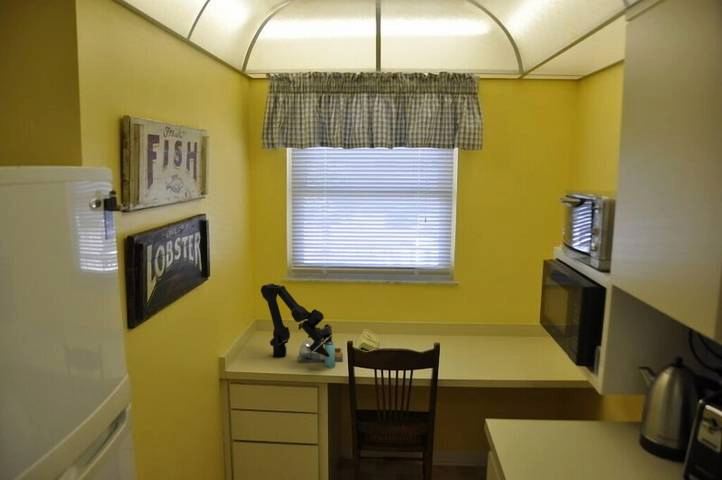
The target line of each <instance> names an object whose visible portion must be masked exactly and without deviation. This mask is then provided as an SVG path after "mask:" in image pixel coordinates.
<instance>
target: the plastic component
mask: <svg viewBox="0 0 722 480" xmlns="http://www.w3.org/2000/svg"><path fill="white" fill-rule="evenodd" d="M378 346H379V337H378V335H377V333H375V332H373V331H372V330H369V329H368V328H367V329H366V328H365V329H363V331H362V333H361V334H360V336H359V337H358V339H357V342H356V346H355V349H356V348H359V349H360V350H361V349H362V348H364V349H365V350H367V351H369V350H372V349H376V350H377V349H378Z"/></svg>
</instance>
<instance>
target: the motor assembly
mask: <svg viewBox="0 0 722 480" xmlns="http://www.w3.org/2000/svg"><path fill="white" fill-rule="evenodd" d="M312 344H313V342H312V341H311V340H309V339H307V340H306V339H305V340H303V341H302V342H301V344H300V347H299V352H298V353H299V354H298V355H299V356H298V359H297V362H298V363H325V356H324V355H322V354H319V353H316V352H314V351H315V350H314V351H311V350H310V349H309V347H310V346H311V345H312ZM335 348H336V351H335V363H343V361H344V360H343V347H335Z"/></svg>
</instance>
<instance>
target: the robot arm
mask: <svg viewBox="0 0 722 480" xmlns="http://www.w3.org/2000/svg"><path fill="white" fill-rule="evenodd" d="M260 294H261V295H262V298H263V299H264V300H265V301H266V302H267V305H268V309H269V314H270V317H271V320H272V324H273V332H272V335H273V337H272V338H271V340H270V341H269V343H270V344H269V346H271V347H272V351H273V352H272V354H273V355H272V358H285V357H286V355H287V353H288V352H287V351H288V350H287V345H286V344H287V343H289V341H290V338H291V332H290V330H289V329H290V328H289V327H288V326H287V327H286V326H285V325H284V322H283V318H282V316H281V315H282V314H281V311H280V308H279V305H278V304H279V303H278V300H277V298H278V297H280V299H281V300H282V302H283V303H284V304H285V305H286V307H288V309H289V310H290V314H291V317H292V318H293V320H294V322H296V323H299V324H298V330H301V329H302V330H303V331H304V332H305V333H306V334H307V335H308V336H307V338H308V339H311V340H312V341H313V342H312V343H313V344H312V345H311V346H310V347H309V349H310V350H311V351H314V350H315V351H314V352H316V353H319V354H322V355H324V356H326V357H329V356H330V355H329V354H328V352H327V351H326V350H325V343H326V342H329V341H331V342H333V333H332V332H333V331H332V326H331V325H330V324H329V323H326V324H325V325H324V326H323V327H322V328H320V327H319V326H318V325H319V324H320V323H321V322H323V320H324V319H325V315H324V313H322V312H321V311H319V310H317V309H316V308H314V309H313V310H312V311H311V312H310V311H309V310H307V308H305V307H304V306H302V305H300V304H298V302H297V301H296V300H295V299H294V297H293V296H292V295H291V294H290V293H289V291H288V290H287V288H286V286H285V285H280V284H275V283H268V284H264V285H262V286H261V288H260ZM317 326H318V327H317ZM336 348H337V347H335V351H336Z"/></svg>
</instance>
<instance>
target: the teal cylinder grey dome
mask: <svg viewBox="0 0 722 480" xmlns="http://www.w3.org/2000/svg"><path fill="white" fill-rule="evenodd" d="M324 348H325V350H326V351H327V352H328V354H329V355H330V356H329V357H326V356H325V362H324V367H325V368H326V367H327V369H332V368H335V367H336V362H335V348H336V343H335V342H333V341H332V342H331V341H329V342H326V343H325V345H324Z"/></svg>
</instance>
